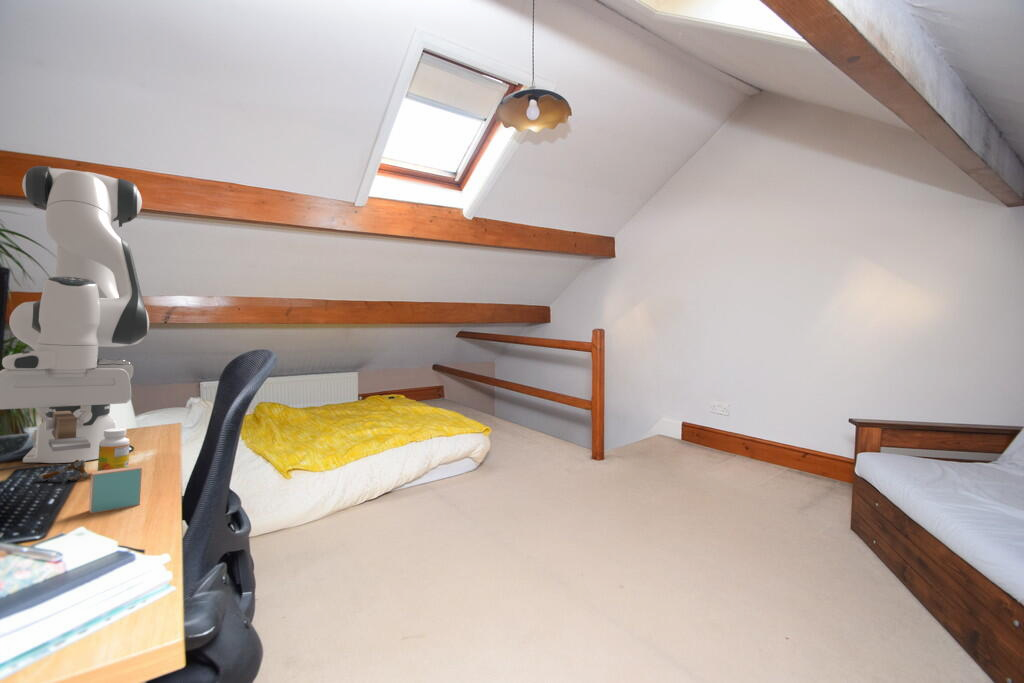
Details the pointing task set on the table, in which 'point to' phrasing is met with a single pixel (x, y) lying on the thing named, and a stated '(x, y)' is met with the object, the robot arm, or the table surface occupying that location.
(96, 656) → the table surface
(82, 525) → the table surface
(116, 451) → the supplement bottle
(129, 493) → the tile
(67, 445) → the brown bar with plate
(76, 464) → the wooden post with brackets
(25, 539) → the table surface
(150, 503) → the table surface
